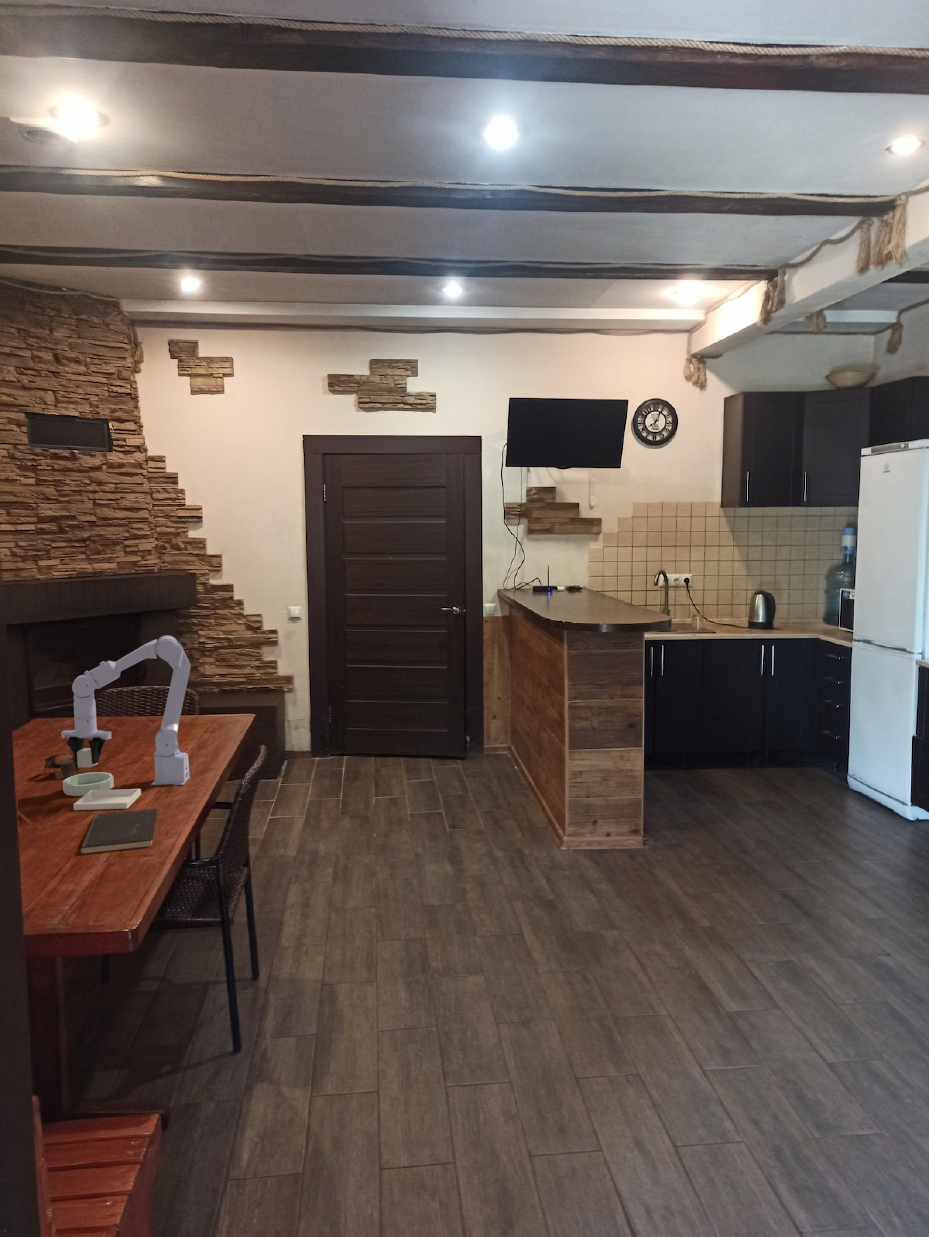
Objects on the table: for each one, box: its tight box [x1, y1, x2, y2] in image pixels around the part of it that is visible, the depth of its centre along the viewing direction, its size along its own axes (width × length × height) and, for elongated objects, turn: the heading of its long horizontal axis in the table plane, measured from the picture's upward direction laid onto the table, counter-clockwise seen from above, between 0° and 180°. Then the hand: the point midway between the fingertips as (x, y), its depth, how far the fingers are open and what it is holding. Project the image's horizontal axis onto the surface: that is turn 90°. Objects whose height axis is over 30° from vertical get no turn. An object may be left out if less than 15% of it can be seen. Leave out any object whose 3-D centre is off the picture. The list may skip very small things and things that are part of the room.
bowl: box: [62, 771, 115, 797], centre depth 237 cm, size 13×13×4 cm
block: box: [77, 747, 99, 768], centre depth 236 cm, size 4×4×5 cm
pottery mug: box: [43, 751, 83, 780], centre depth 253 cm, size 12×10×8 cm
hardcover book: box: [79, 807, 160, 855], centre depth 203 cm, size 16×23×2 cm
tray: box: [73, 788, 142, 811], centre depth 225 cm, size 14×12×2 cm
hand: (87, 762), depth 236 cm, fingers closed on block, 4 cm apart
